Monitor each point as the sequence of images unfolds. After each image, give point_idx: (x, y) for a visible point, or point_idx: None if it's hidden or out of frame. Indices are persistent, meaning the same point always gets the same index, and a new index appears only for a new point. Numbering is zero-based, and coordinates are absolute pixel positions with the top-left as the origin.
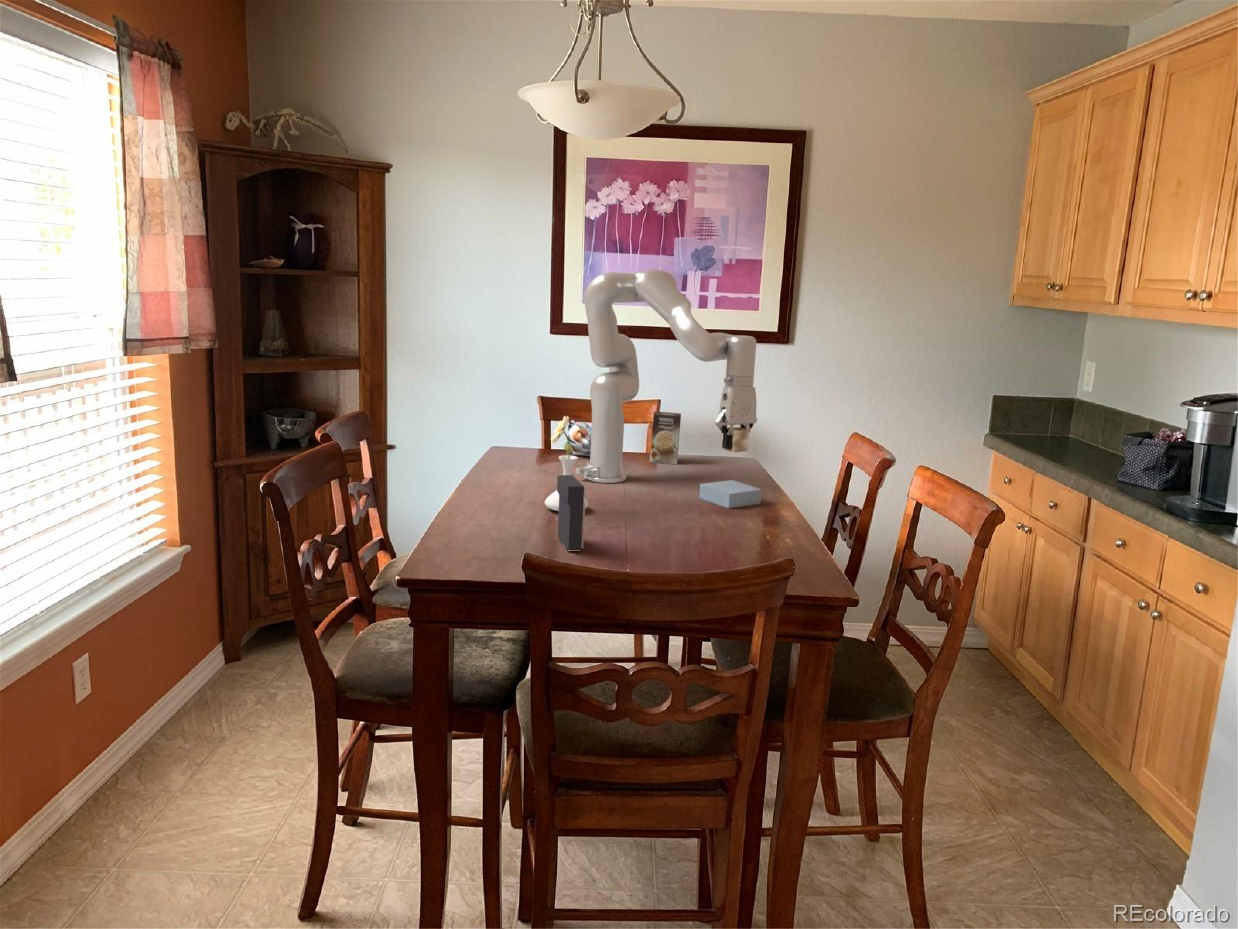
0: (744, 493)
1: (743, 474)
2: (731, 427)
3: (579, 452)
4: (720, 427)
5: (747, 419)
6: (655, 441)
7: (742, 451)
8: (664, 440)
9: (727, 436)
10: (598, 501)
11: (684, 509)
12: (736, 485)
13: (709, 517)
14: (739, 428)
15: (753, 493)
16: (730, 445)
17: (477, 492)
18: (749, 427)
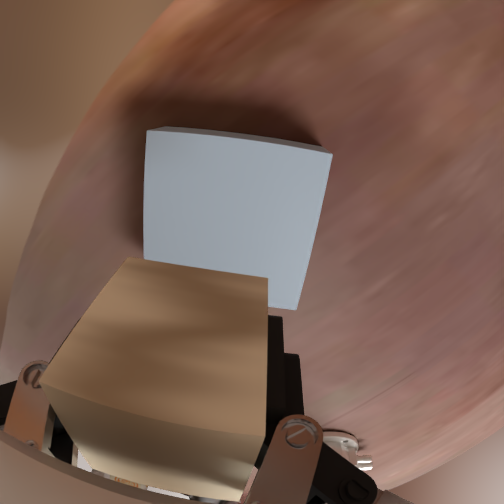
0: (245, 138)
1: (30, 343)
2: (275, 485)
3: (238, 502)
4: (382, 493)
5: (23, 501)
6: (141, 486)
7: (176, 264)
8: (127, 482)
9: (299, 412)
10: (474, 360)
11: (434, 226)
12: (189, 227)
13: (451, 127)
14: (116, 446)
15: (193, 132)
16: (282, 334)
17: (493, 428)
18: (13, 399)
